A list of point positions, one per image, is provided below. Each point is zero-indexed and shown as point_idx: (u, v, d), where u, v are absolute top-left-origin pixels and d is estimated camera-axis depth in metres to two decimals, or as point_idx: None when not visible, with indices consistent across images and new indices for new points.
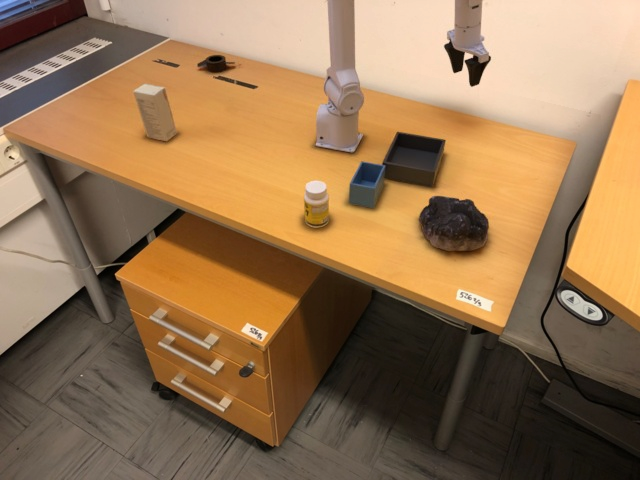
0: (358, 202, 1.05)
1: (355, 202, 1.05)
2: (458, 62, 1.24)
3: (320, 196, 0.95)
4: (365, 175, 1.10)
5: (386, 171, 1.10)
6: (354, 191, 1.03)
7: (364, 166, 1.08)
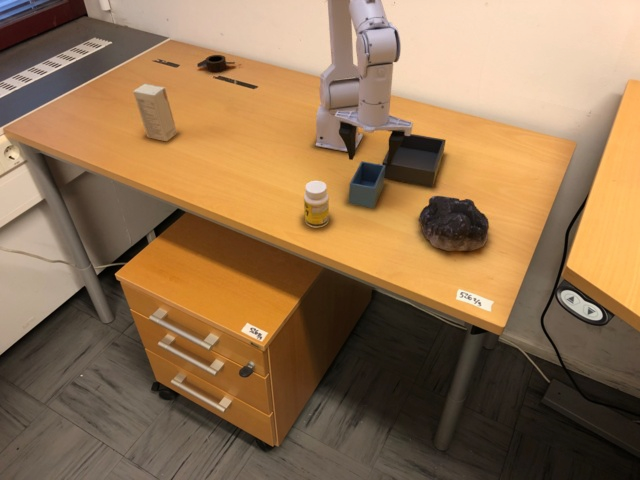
0: (358, 202, 1.05)
1: (355, 202, 1.05)
2: None
3: (320, 196, 0.95)
4: (365, 175, 1.10)
5: (386, 171, 1.10)
6: (354, 191, 1.03)
7: (364, 166, 1.08)
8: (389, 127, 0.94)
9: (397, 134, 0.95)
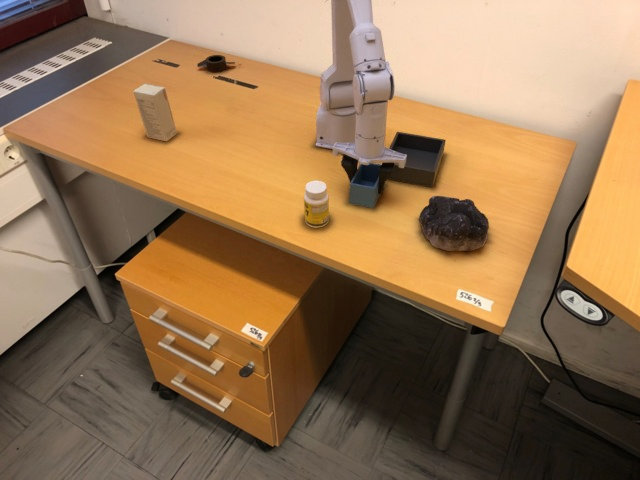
0: (358, 202, 1.05)
1: (355, 202, 1.05)
2: None
3: (320, 196, 0.95)
4: (365, 175, 1.10)
5: None
6: (354, 191, 1.03)
7: (364, 166, 1.08)
8: (384, 160, 0.99)
9: (387, 164, 1.00)
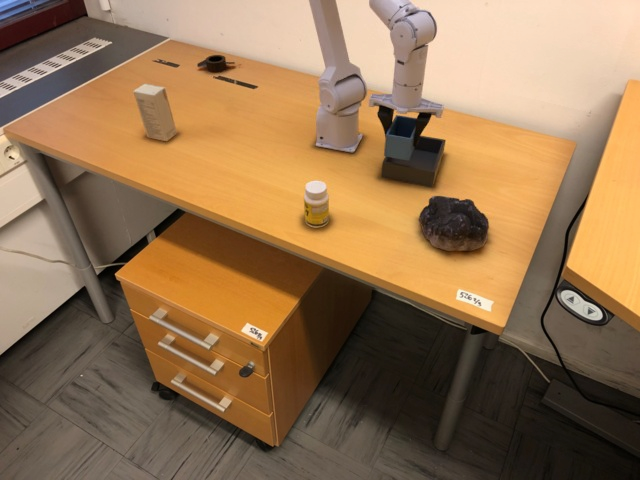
0: (393, 154, 1.05)
1: (390, 154, 1.05)
2: None
3: (320, 196, 0.95)
4: (399, 130, 1.10)
5: (386, 171, 1.10)
6: (390, 142, 1.03)
7: (399, 120, 1.08)
8: (421, 109, 0.99)
9: (424, 115, 1.00)
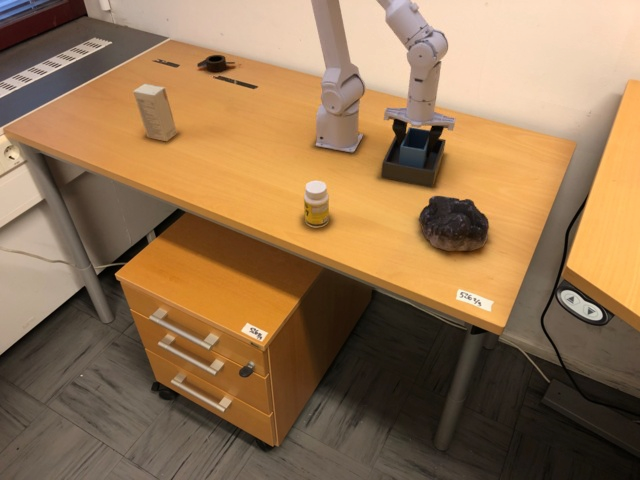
0: (407, 165, 1.10)
1: None
2: None
3: (320, 196, 0.95)
4: (412, 141, 1.15)
5: (386, 171, 1.10)
6: (404, 153, 1.09)
7: (412, 132, 1.14)
8: (434, 122, 1.04)
9: (437, 128, 1.06)
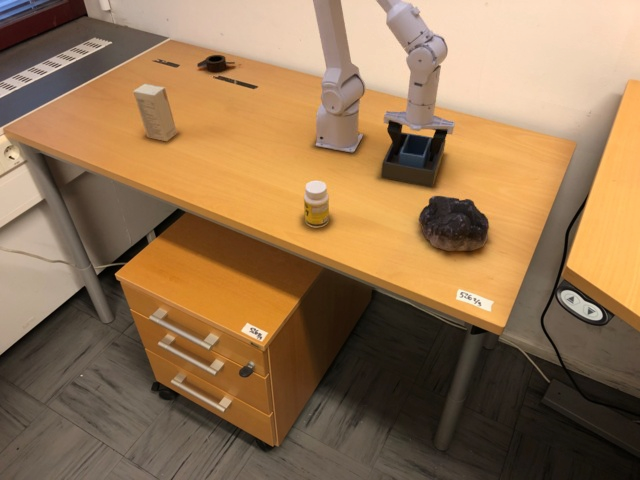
0: None
1: None
2: None
3: (320, 196, 0.95)
4: (411, 147, 1.17)
5: (386, 171, 1.10)
6: (404, 160, 1.10)
7: (411, 138, 1.15)
8: (434, 126, 1.05)
9: (441, 132, 1.06)
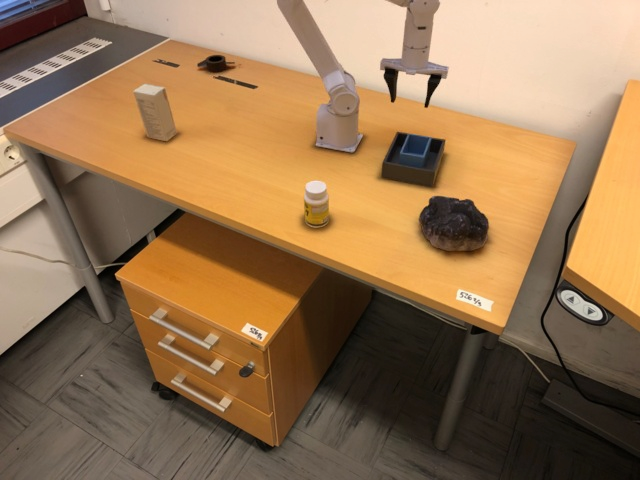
0: None
1: None
2: None
3: (320, 196, 0.95)
4: (411, 147, 1.17)
5: (386, 171, 1.10)
6: (404, 160, 1.10)
7: (411, 138, 1.15)
8: (428, 70, 1.09)
9: (435, 77, 1.10)
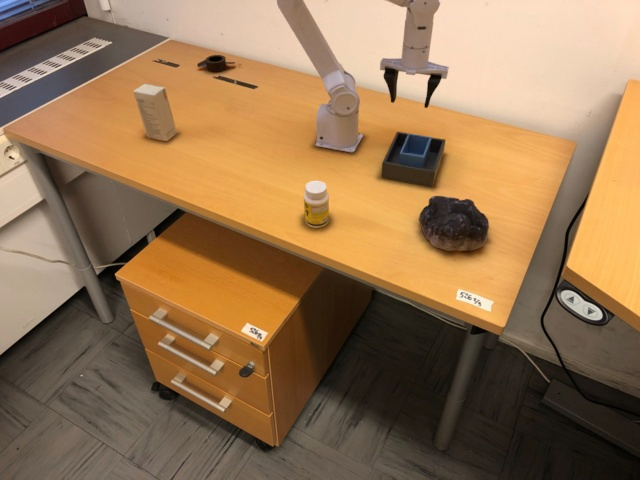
0: None
1: None
2: None
3: (320, 196, 0.95)
4: (411, 147, 1.17)
5: (386, 171, 1.10)
6: (404, 160, 1.10)
7: (411, 138, 1.15)
8: (428, 70, 1.09)
9: (435, 77, 1.10)
